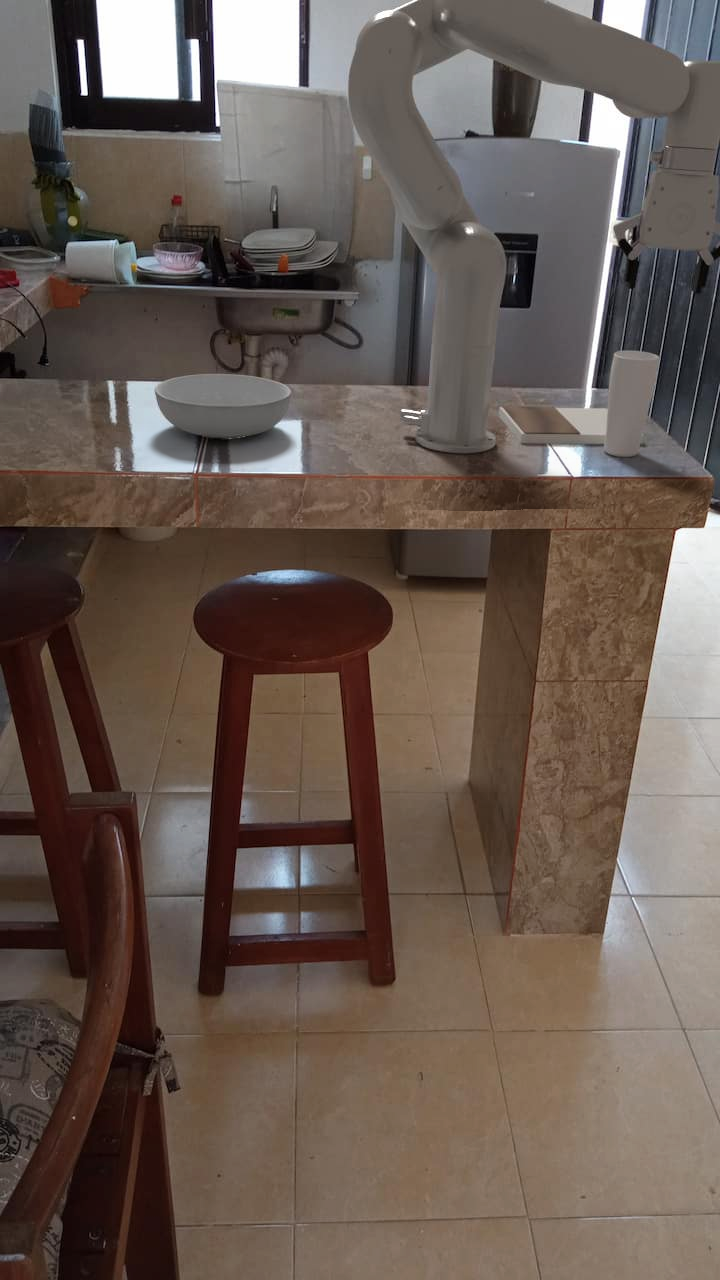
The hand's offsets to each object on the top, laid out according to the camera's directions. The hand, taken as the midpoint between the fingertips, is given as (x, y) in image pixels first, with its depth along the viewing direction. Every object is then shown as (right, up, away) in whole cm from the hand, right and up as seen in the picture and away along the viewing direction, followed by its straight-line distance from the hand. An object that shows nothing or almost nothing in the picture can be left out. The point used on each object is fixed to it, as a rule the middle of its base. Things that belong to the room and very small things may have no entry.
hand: (662, 289), depth 148 cm
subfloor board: (-10, -17, +18) cm, 27 cm away
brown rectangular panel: (-15, -17, +18) cm, 29 cm away
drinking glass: (-4, -23, +7) cm, 25 cm away
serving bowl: (-66, -19, +10) cm, 70 cm away
